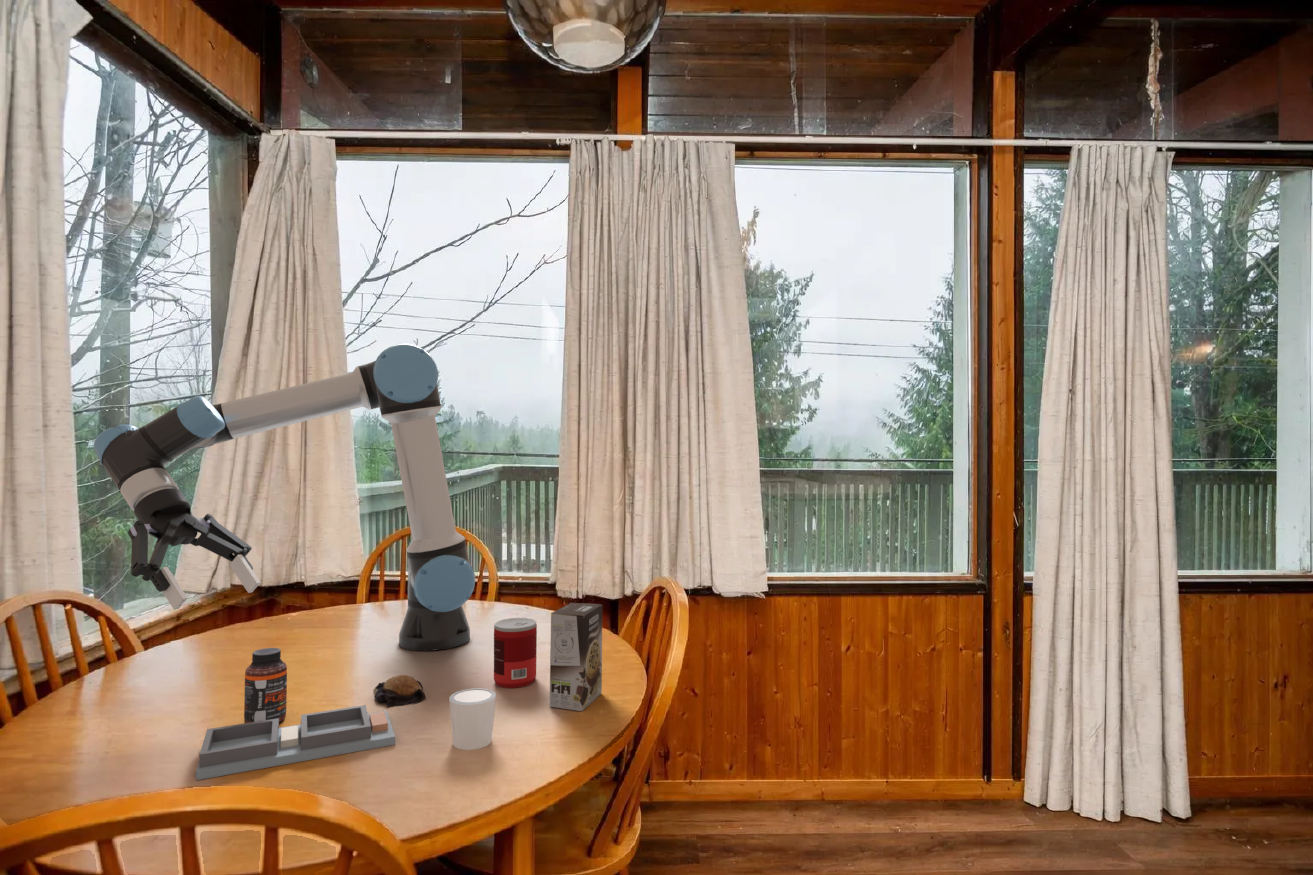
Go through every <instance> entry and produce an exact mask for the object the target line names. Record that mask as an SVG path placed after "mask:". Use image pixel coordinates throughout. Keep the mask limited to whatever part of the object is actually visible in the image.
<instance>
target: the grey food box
mask: <svg viewBox="0 0 1313 875" xmlns="http://www.w3.org/2000/svg"><path fill="white" fill-rule="evenodd" d="M549 650H550V651H549V653H550V655H549V657H550V659H549V661H550V662H549V664H550V665H549V666H550V668H549V670H550V672H549V708H556V709H564V710H570V711H576V712H583V711H584V710H585V709H586V708H587V707H588V706H590V705H591V704H592V703H593V702H594V701H595V700H596V699H597V698H598V697H599V696H600V695H601V694H602V692H603V690H602V689H603V687H602V686H603V684H602V683H603V679H602V678H603V604H601V603H588V602H587V603H584V602H583V603H581V602H580V603H579V602H578V603H577V602H570V603H568V604H566V605H565V606H562V607H561V608H558V609H556V610H555V611H553V612H551V613H550V649H549Z"/></svg>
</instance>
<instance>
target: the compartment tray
mask: <svg viewBox="0 0 1313 875" xmlns="http://www.w3.org/2000/svg"><path fill="white" fill-rule="evenodd" d="M279 723H280V722H279V718H277V719H270V720H263V721H257V722H250V723H238V724H231V725H223V726H219V727H211V728H207V729H206V732H205V735H204V738H203V742H202V746H201V749H200V751H199V756H198V757H199V758H198V759H199V760H198V763H197V765H196V766H197V767H196V770H195V781H199V780H204V779H205V780H206V779H212V778H216V777H217V778H218V777H221V776H227V775H235V774H239V773H244V772H250V771H257V770H261V769H267V768H271V767H279V766H283V765H290V764H294V763H300V762H305V761H310V760H317V759H322V758H327V757H328V758H329V757H334V756H338V755H339V756H340V755H345V754H349V753H356V752H362V751H366V750H367V751H368V750H372V749H379V748H384V747H389V746H395V745H396V735H395V731H394V729H393V726H392V725H393V724H392V723H391V719H390V717H389V713H388V711H387V710H382V711H377V712H371V713H368V709H367V705H366V704H363V705H356V706H351V707H343V708H335V709H331V710H324V711H323V710H322V711H316V712H310V713H304V714H301V715H300V724H294V725H289V726H283V727H279V726H280V724H279Z"/></svg>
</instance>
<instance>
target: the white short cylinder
mask: <svg viewBox="0 0 1313 875" xmlns="http://www.w3.org/2000/svg"><path fill="white" fill-rule="evenodd" d="M496 694H497V693H496V691H494V690H491V689H489V688H488V689H487V688H481V687H480V688H478V687H477V688H476V687H475V688H467V689H466V688H465V689H463V690H458V691H456V692H453V693H452V694H451V695H450V696H449V697H448V698H449V699H448V700H449V711H450V712H449V713H450V722H451V733H452V734H451V735H452V745H453V747H454V748H455V749H458V750H461V751H475V750H479V749H483V748H485V747H487V746H490V744H491V743H492V740H493V732H494V730H493V729H494V721H495V720H494V718H495V708H496V701H497V700H496V698H497V695H496Z"/></svg>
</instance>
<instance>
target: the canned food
mask: <svg viewBox="0 0 1313 875" xmlns="http://www.w3.org/2000/svg"><path fill="white" fill-rule="evenodd" d="M537 625H538V624H537V621H536V620H535V619H532V618H527V617H511V618H505V619H504V618H503V619H501V620H498V621H496V622H495V623H494V625H493V626H494V627H493V680H494V684H495V685H496V686H498V687H500V688H504V689H505V688H506V689H517V688H523V687H527V686H530V685H532V684H533V683H534V682H535V681H536V677H537V646H538V645H537V642H538V641H537V640H538V639H537V638H538V637H537V635H538V633H537V632H538V629H537V627H538V626H537Z"/></svg>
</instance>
